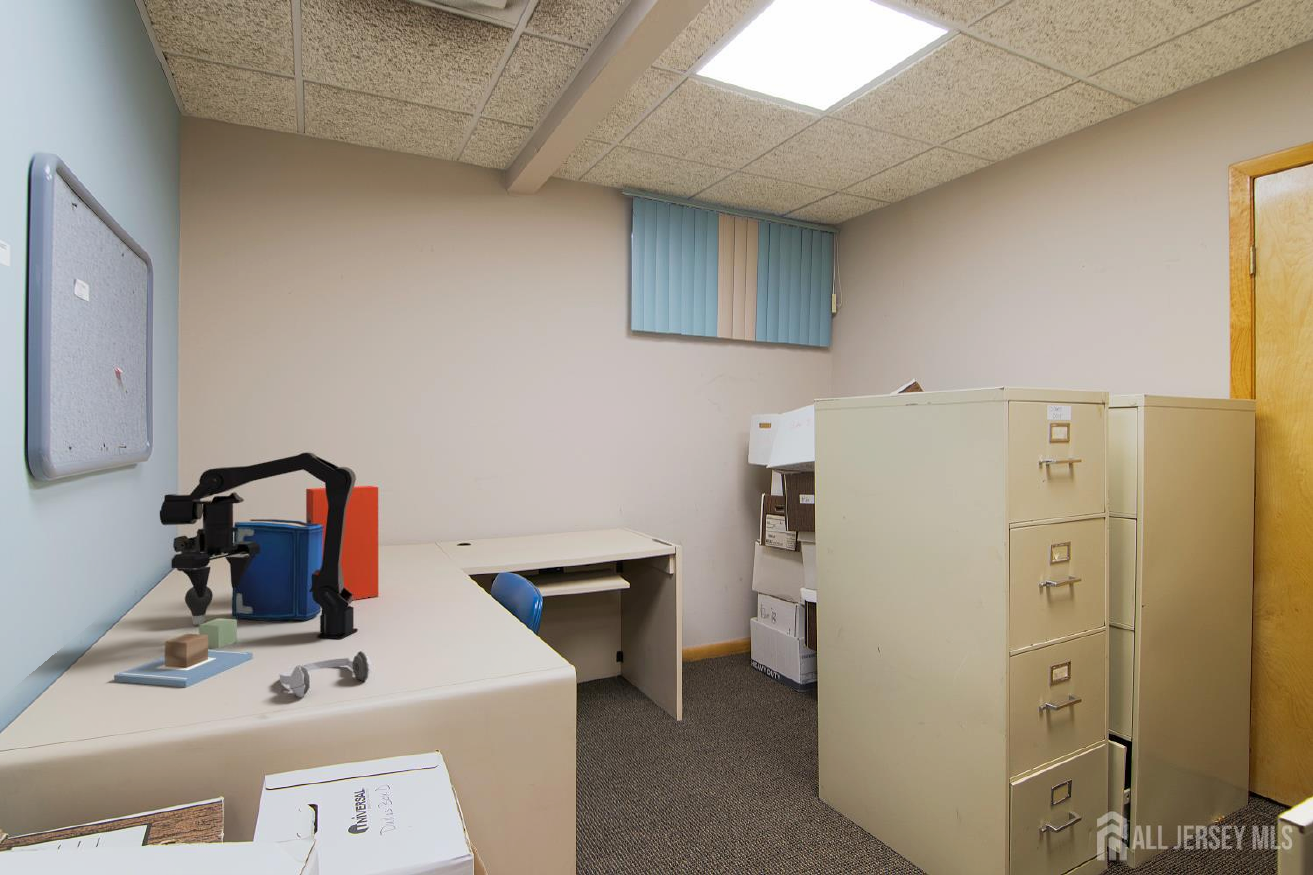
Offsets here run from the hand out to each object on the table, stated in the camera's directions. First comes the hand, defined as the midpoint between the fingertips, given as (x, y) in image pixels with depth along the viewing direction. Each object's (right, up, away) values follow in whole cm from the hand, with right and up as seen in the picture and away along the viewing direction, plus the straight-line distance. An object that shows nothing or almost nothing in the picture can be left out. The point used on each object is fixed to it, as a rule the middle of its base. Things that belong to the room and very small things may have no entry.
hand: (218, 592), depth 147 cm
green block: (0, -12, 0) cm, 12 cm away
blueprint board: (+4, -12, -16) cm, 20 cm away
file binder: (+9, -12, +40) cm, 43 cm away
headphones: (+35, -13, -23) cm, 44 cm away
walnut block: (+4, -11, -16) cm, 19 cm away
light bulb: (-14, -12, +14) cm, 23 cm away
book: (+1, -12, +21) cm, 24 cm away
